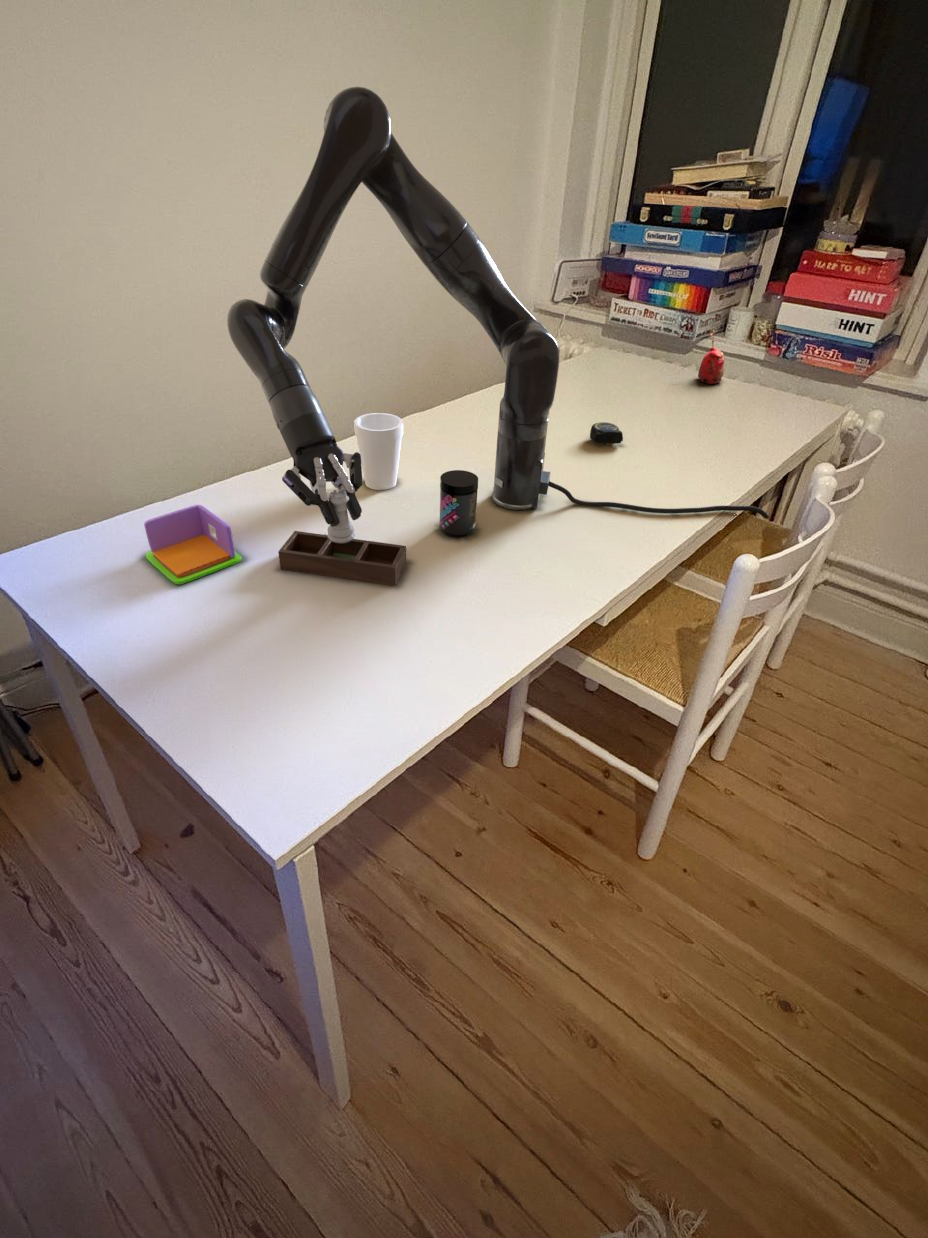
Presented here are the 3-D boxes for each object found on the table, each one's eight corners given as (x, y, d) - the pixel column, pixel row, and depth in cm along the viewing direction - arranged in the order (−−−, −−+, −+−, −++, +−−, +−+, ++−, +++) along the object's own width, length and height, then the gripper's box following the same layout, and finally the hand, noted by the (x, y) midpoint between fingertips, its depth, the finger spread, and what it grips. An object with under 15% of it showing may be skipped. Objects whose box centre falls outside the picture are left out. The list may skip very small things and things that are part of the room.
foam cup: (396, 496, 138) (394, 433, 130) (351, 490, 139) (347, 427, 131) (408, 476, 145) (408, 415, 137) (366, 470, 146) (363, 410, 139)
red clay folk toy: (716, 386, 202) (730, 332, 193) (692, 381, 205) (705, 328, 196) (723, 380, 207) (737, 327, 198) (700, 375, 210) (713, 323, 201)
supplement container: (440, 519, 131) (442, 468, 124) (476, 522, 130) (479, 471, 124) (437, 537, 125) (438, 485, 119) (474, 540, 125) (477, 488, 119)
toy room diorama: (209, 533, 123) (202, 498, 119) (244, 560, 117) (238, 524, 112) (143, 556, 116) (133, 520, 112) (176, 586, 110) (167, 549, 105)
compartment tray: (296, 548, 120) (294, 530, 118) (406, 563, 118) (406, 545, 116) (280, 569, 115) (278, 551, 113) (395, 586, 112) (395, 567, 110)
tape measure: (593, 447, 162) (596, 432, 159) (585, 436, 167) (588, 421, 165) (621, 447, 162) (624, 432, 160) (612, 436, 168) (615, 421, 166)
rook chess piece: (359, 533, 114) (357, 489, 110) (347, 546, 111) (344, 502, 106) (335, 528, 115) (332, 484, 111) (322, 541, 112) (318, 496, 107)
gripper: (266, 420, 103) (314, 526, 103) (348, 402, 110) (393, 501, 110) (255, 442, 109) (300, 541, 109) (333, 424, 117) (375, 517, 117)
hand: (346, 520), depth 110 cm, fingers closed on rook chess piece, 3 cm apart
